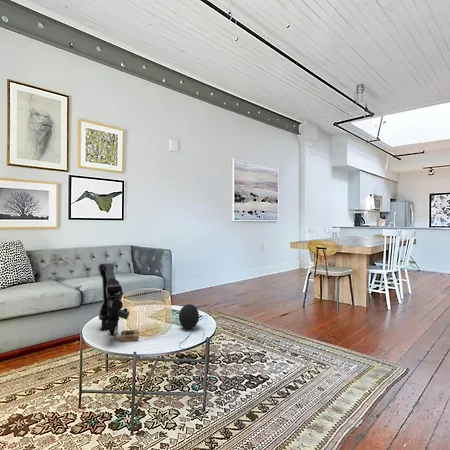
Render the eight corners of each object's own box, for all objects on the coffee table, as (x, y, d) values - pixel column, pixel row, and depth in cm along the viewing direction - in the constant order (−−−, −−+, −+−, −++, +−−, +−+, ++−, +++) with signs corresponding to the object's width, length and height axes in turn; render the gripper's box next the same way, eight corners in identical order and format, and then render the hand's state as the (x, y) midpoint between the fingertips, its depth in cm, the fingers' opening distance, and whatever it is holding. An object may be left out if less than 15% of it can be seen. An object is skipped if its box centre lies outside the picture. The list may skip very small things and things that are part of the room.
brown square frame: (121, 335, 186) (121, 330, 186) (138, 334, 188) (138, 329, 188) (120, 342, 177) (120, 336, 177) (138, 341, 179) (138, 335, 179)
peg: (108, 337, 183) (108, 322, 182) (118, 337, 184) (118, 321, 184) (107, 341, 178) (107, 325, 177) (117, 340, 179) (117, 324, 179)
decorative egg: (200, 325, 206) (200, 302, 205) (196, 332, 193) (197, 307, 193) (181, 324, 207) (181, 301, 206) (176, 331, 195) (176, 306, 194)
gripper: (127, 310, 173) (127, 339, 173) (129, 301, 191) (129, 327, 192) (105, 311, 170) (105, 340, 171) (109, 301, 188) (109, 328, 189)
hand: (113, 333), depth 181 cm, fingers closed on peg, 5 cm apart
